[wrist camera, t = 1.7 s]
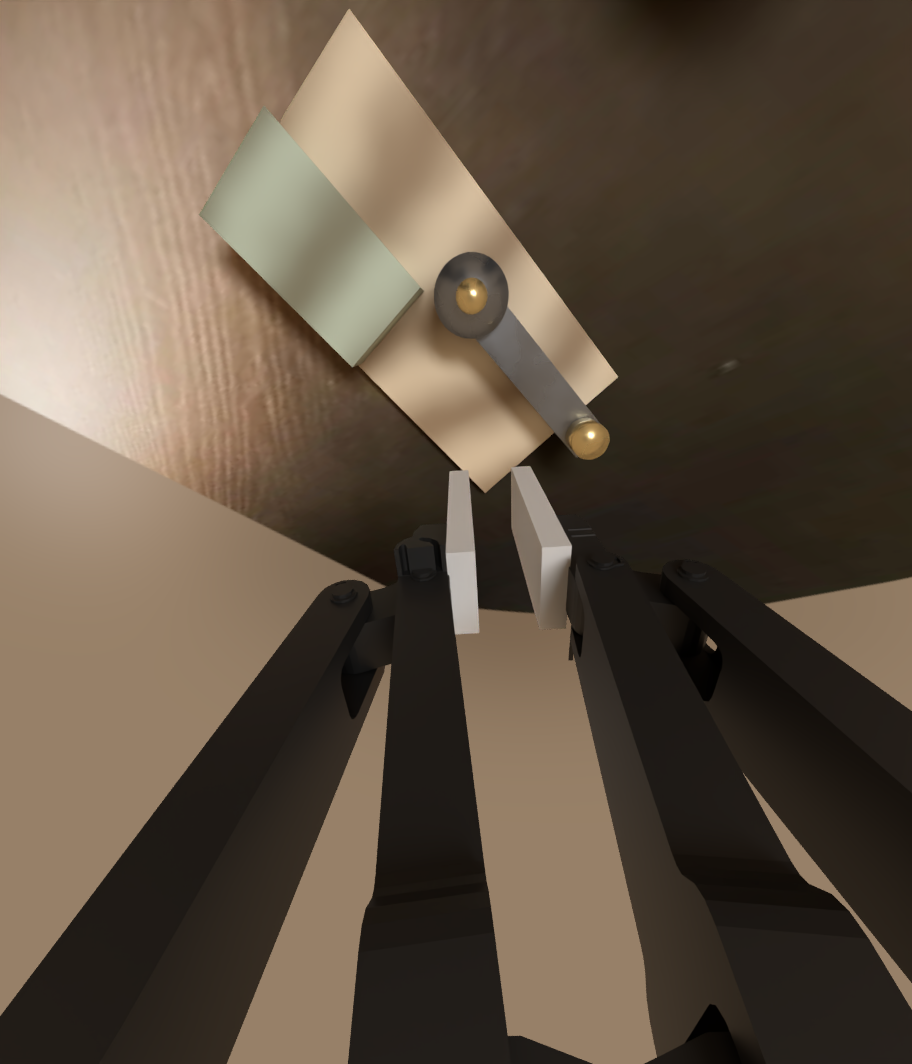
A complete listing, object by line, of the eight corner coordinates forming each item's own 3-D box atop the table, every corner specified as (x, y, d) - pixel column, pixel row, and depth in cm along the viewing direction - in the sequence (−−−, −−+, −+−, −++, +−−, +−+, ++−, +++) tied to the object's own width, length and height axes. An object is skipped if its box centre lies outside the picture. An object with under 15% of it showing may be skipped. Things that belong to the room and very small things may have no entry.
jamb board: (223, 226, 26) (188, 211, 22) (352, 18, 22) (333, -39, 18) (484, 489, 34) (487, 507, 30) (614, 375, 30) (634, 382, 26)
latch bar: (422, 299, 27) (416, 294, 22) (471, 243, 25) (474, 227, 21) (559, 457, 31) (574, 476, 27) (606, 417, 30) (629, 431, 26)
